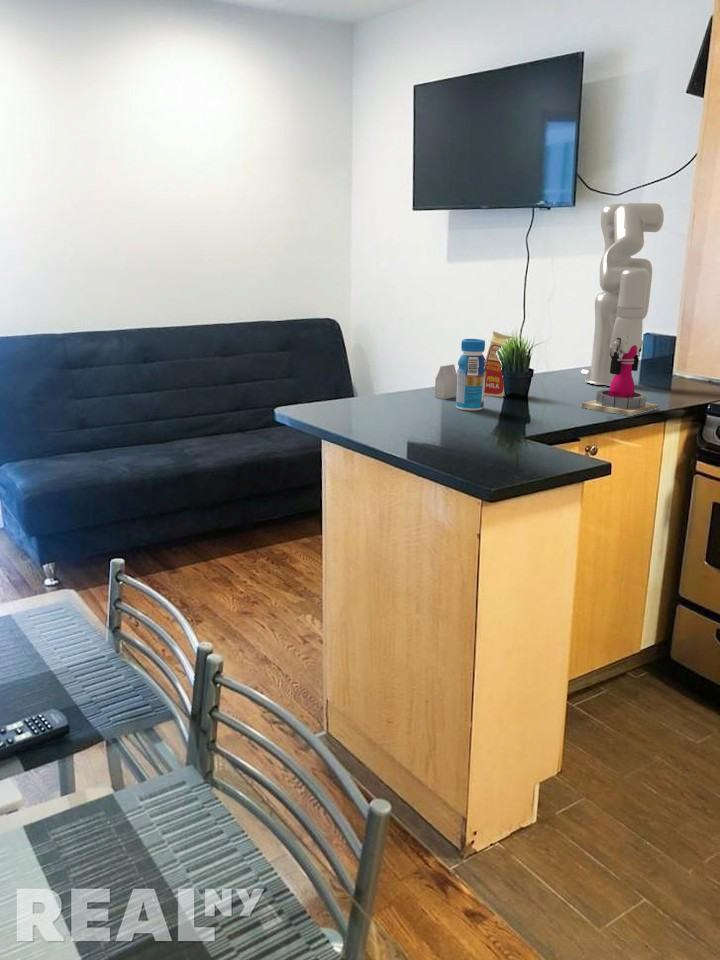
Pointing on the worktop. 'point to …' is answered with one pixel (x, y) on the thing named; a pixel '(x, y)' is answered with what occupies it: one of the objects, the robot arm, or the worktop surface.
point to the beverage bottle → (471, 375)
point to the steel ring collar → (621, 400)
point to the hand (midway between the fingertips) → (623, 372)
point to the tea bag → (446, 382)
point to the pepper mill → (624, 376)
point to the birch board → (618, 410)
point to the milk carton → (494, 367)
